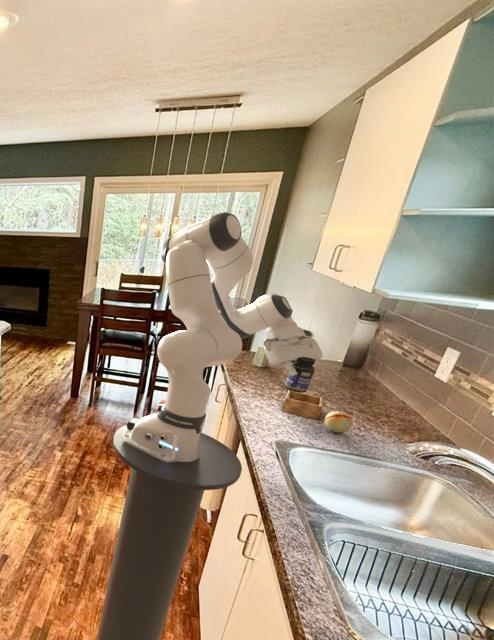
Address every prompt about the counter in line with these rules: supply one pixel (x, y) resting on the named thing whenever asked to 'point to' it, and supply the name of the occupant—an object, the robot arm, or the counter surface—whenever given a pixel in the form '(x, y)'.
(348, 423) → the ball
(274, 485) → the counter surface
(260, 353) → the beige rectangular block
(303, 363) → the pill bottle
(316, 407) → the holder
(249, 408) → the counter surface
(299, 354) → the robot arm
